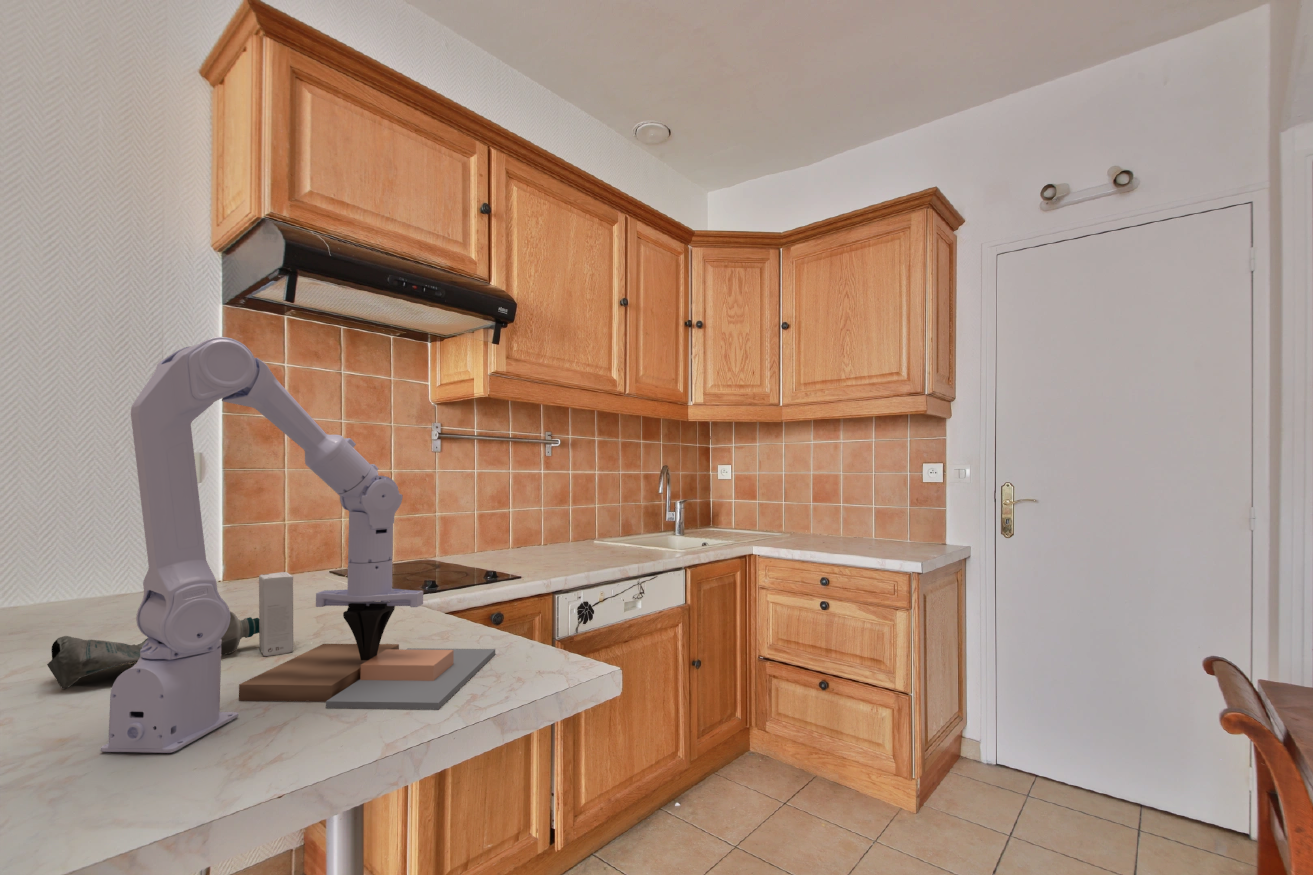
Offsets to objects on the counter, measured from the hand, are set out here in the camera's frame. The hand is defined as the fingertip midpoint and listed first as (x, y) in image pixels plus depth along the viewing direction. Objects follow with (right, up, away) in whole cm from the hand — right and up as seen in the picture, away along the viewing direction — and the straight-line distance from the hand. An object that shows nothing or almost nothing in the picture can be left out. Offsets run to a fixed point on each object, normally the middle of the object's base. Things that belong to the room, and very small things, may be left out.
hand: (368, 658), depth 85 cm
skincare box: (-21, -4, +13) cm, 25 cm away
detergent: (-33, -4, +5) cm, 34 cm away
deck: (-6, -3, 0) cm, 7 cm away
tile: (+6, -2, 0) cm, 6 cm away
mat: (+7, -3, -1) cm, 8 cm away
